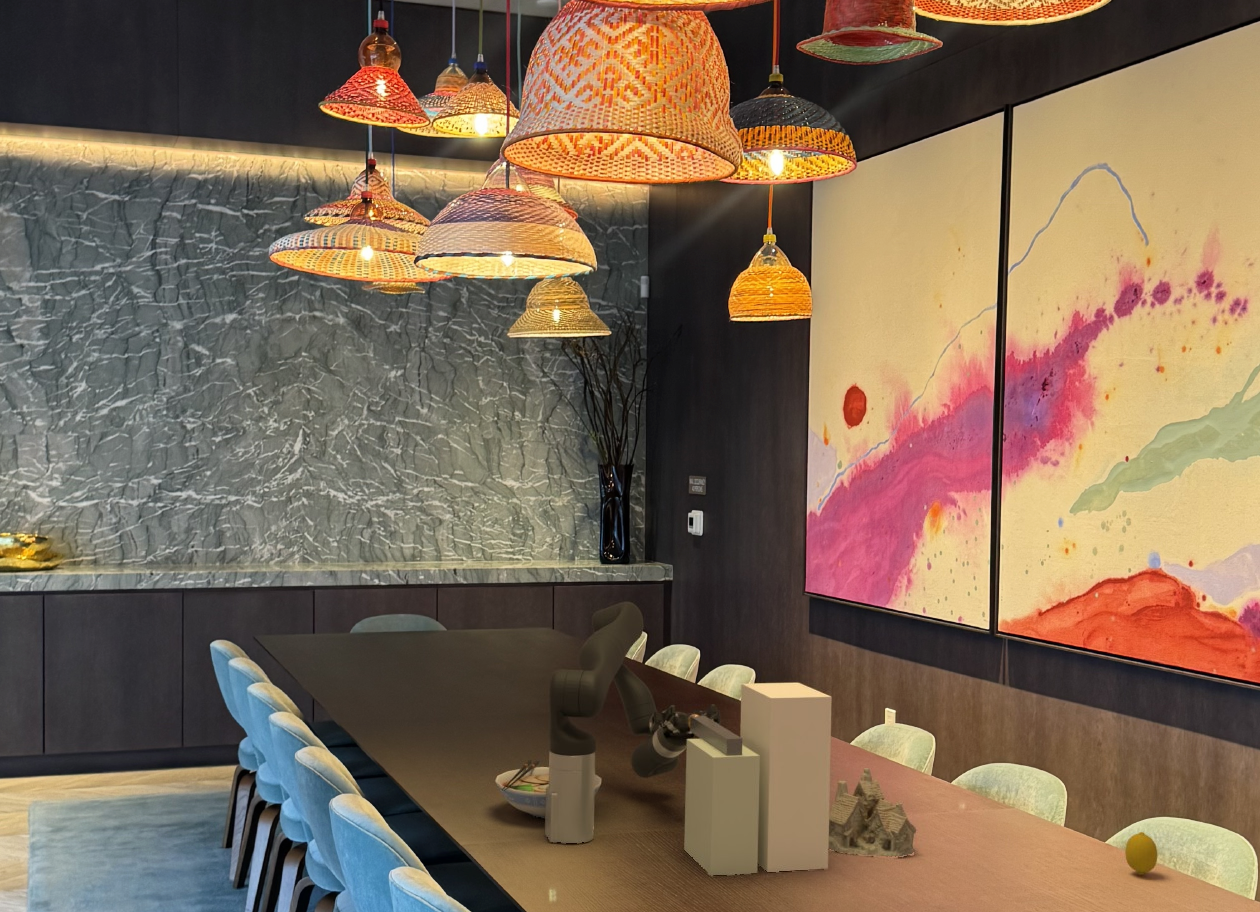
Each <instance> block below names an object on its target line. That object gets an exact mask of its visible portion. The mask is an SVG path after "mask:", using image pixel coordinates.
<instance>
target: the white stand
mask: <svg viewBox="0 0 1260 912" xmlns="http://www.w3.org/2000/svg"><path fill="white" fill-rule="evenodd" d="M740 689H741V691H740V692H741V693H740V694H741V695H740V736H739V737H741V738H742V745H743V746H745V747H746V748H748V749H750V750H751V751H753V752H754V753H756V754H758V755H759V756H760V771H759V816H758V861H757V863H758V864H759V865H760V866H761V867H762V868H763V869H764V871H765V870H766V871H767V872H776V873H780V872H779V871H790V870H808V871H810V870H809V869H821V868H828V869H829V850H828V843H829V811H830V797H831V796H830V793H831V792H830V789H831V788H830V787H831V784H830V783H831V743H832V740H831V739H832V737H831V736H832V698H833V697H832V696H831V695H828V694H826V693H823V692H821V691H819V690H817V689H815V688H813V687H809V686H808V685H805V684H803V683H801V682H765V683H763V682H761V683H759V682H757V683H741V687H740ZM758 864H757V865H758ZM759 865H758V866H759ZM760 866H759V867H760ZM761 867H760V868H761ZM762 868H761V869H762ZM763 869H762V870H763ZM766 871H765V872H766ZM767 872H766V873H767Z"/></svg>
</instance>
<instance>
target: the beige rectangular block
mask: <svg viewBox="0 0 1260 912" xmlns="http://www.w3.org/2000/svg"><path fill="white" fill-rule="evenodd" d="M685 757H686V761H685V762H686V764H685V765H686V766H685V796H684V797H685V800H684V801H685V804H684V807H685V808H684V842H683V843H684V844H683V845H684V847H683V849H684V850H685V851H686V852H687V853H688V854H689V855H690V856H691V857H693V859H694V860H695V861H696V862H698V863H699V865H701V867H703V869H705V870H706V871H707V872H708V873H707V875H709V876H710V875H711V876H710V877H714V876H713V875H727V876H740V874H744V875H752V874H751V873H757V874H758V864H757V861H758V816H759V771H760V756H759V755H758V754H756V753H754V752H753V751H751V750H750V749H748V748H746V747H745V746H743V745H742V755H729V756H727V755H725V754H724V753H722V752H721V751H719V750H718V749H716V748H715V747H713V746H712V745H710V744H709V743H707V742H705V741H704V740H702V739H701V738H694V739H687V747H686V756H685ZM684 850H683V851H684ZM685 851H684V852H685ZM686 852H685V853H686ZM687 853H686V854H687ZM688 854H687V855H688ZM689 855H688V856H689ZM690 856H689V857H690ZM691 857H690V858H691ZM693 859H692V860H693ZM694 860H693V861H694ZM695 861H694V862H695ZM699 865H698V866H699ZM701 867H700V868H701ZM703 869H702V870H703ZM735 874H737V875H735Z"/></svg>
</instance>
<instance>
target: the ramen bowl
mask: <svg viewBox="0 0 1260 912" xmlns="http://www.w3.org/2000/svg"><path fill="white" fill-rule="evenodd" d="M539 764H540V760H535V761H534V762H533V763H532V760H531V759H528V760H527V761H526V763H524V765H523V766H522V767H521V768H518V769H513V770H508V771H505V772H503V773H501V774H499V775H498V774H497V776H496V778H495V780H494V781H495V784H496V785H497V788H498V790H499V791H500V793H501V795H502V796H503V798H504V799H505V800H506V801H507V802H508V803H509V804H510V805H511V806H513V807H514V808H515V809H517V810H519V811H522V812H524V813H527V814H530V815H531V816H532V815H533V817H535V816H536V818H538V817H541V818H540V819H545V810H546V787H548V786H549V766H538V765H539ZM601 785H602V777H600V776H599V775H597V774H596V773H595V793H594V796H596V794H597V793H598V791H599V789H600V786H601Z"/></svg>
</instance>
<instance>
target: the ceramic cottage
mask: <svg viewBox="0 0 1260 912" xmlns="http://www.w3.org/2000/svg"><path fill="white" fill-rule="evenodd" d="M879 784H880V783H879V781H878V780H877V779H874V780H873V777H872V773H871V769H870V768H867V767H864V768H863V773H861V777H860V781H858V783H857V785H856V787H855V789H854V792H853V794H849V788H848V787H849V786H848V783H847V781H846V780H839V781H838V783H837V788H836V791H835V792H836V793H835V796H834V797H835V798H834V803H833V804H832V806H831V807H830V809H829V843H828V849H831V850H834V852H835V851H838V852H843V853H850V854H862V855H876V856H886V857H888V856H889V857H892V856H895V857H896V856H898V857H899V856H903V855H908V854H912V853H913V852H915V848H914V846H913V844H914V838H915V837H914V836H915V834H916V833H917V829H916V827H915V825H914V824H912V823H911V822H910V820H909V819H908V817H907V814H906V812H905V810H904V807H903V803H902V802H896V803H895V805H893V803H892V802H890V801H887V800H885V796H884V793H883V791H882V788H881V786H880V785H879ZM915 853H916V852H915Z"/></svg>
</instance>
